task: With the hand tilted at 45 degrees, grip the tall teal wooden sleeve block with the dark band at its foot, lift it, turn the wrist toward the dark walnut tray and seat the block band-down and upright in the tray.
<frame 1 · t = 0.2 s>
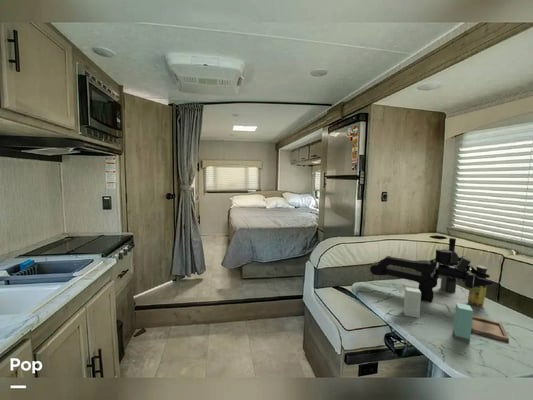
hand: (491, 279, 120), 17 cm above the table, tool horizontal, fingers open, 9 cm apart
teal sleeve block: (461, 337, 103), on the table
sauce bottle: (475, 304, 131), on the table, touching gripper
skincare box: (410, 314, 120), on the table
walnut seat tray: (484, 328, 110), on the table
wine bottle: (447, 290, 147), on the table
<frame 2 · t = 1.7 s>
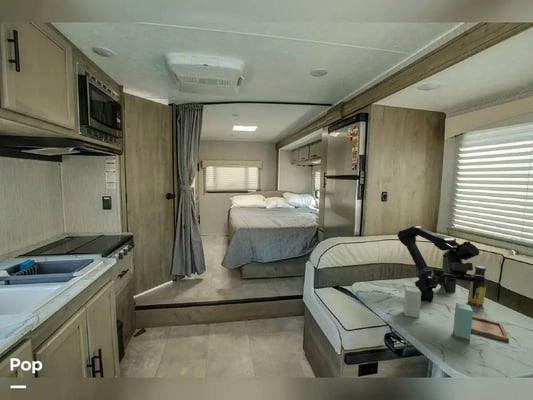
hand: (459, 296, 109), 14 cm above the table, tool tilted 45°, fingers open, 9 cm apart
sauce bottle: (475, 304, 131), on the table
everything else where it was.
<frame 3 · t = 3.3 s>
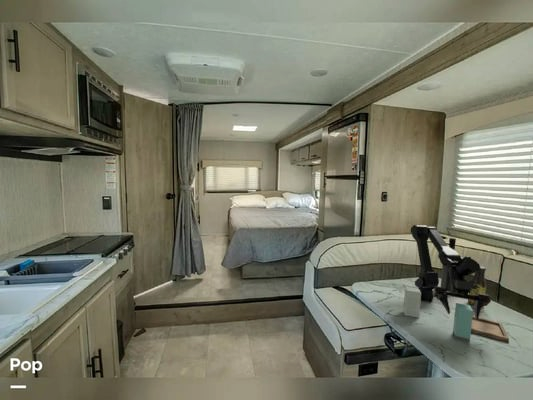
hand: (462, 316, 103), 8 cm above the table, tool tilted 45°, fingers open, 9 cm apart
nothing on the table moved.
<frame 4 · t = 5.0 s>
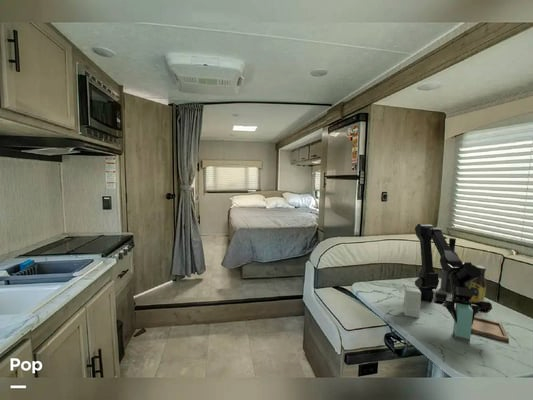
hand: (463, 323, 101), 7 cm above the table, tool tilted 45°, fingers closed on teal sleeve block, 4 cm apart
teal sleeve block: (461, 337, 103), on the table, touching gripper
everything else where it was.
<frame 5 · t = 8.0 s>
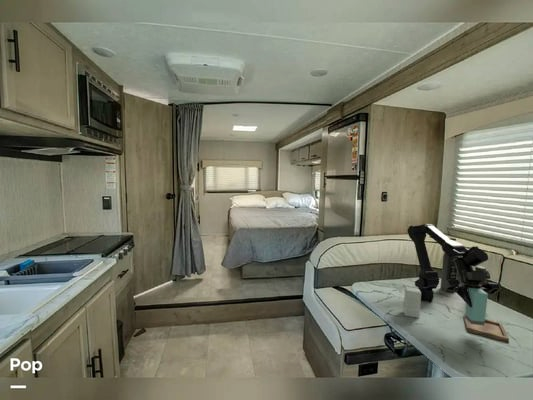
hand: (478, 307, 102), 13 cm above the table, tool tilted 45°, fingers closed on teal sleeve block, 4 cm apart
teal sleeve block: (474, 321, 104), point 6 cm above the table, touching gripper
everything else where it was.
when the fingers open (8 cm above the table, at t = 10.9 s): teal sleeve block drops 1 cm, resting on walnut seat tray.
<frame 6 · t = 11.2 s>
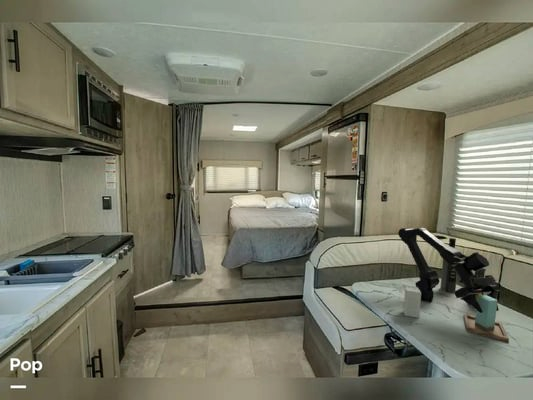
hand: (489, 311, 108), 8 cm above the table, tool tilted 45°, fingers open, 8 cm apart
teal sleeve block: (484, 327, 110), point 1 cm above the table, touching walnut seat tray
everything else where it was.
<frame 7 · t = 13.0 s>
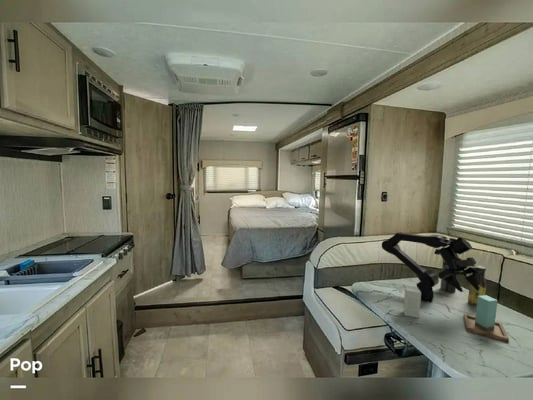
hand: (470, 290, 116), 13 cm above the table, tool tilted 45°, fingers open, 9 cm apart
nothing on the table moved.
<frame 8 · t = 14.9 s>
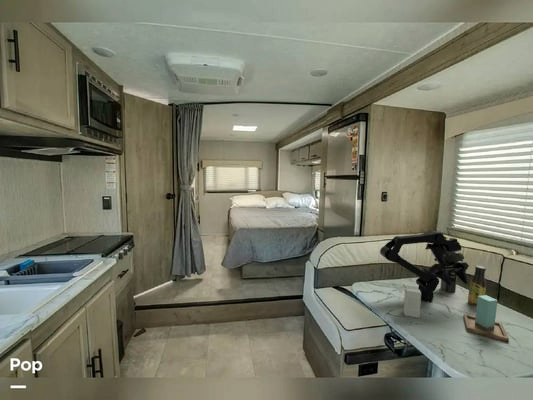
hand: (458, 284, 122), 14 cm above the table, tool tilted 45°, fingers open, 9 cm apart
nothing on the table moved.
at the end: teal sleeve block 0.0 cm off-centre on the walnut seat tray, point 0.6 cm above the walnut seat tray's base; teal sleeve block tilted 0°; the gripper is holding nothing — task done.
